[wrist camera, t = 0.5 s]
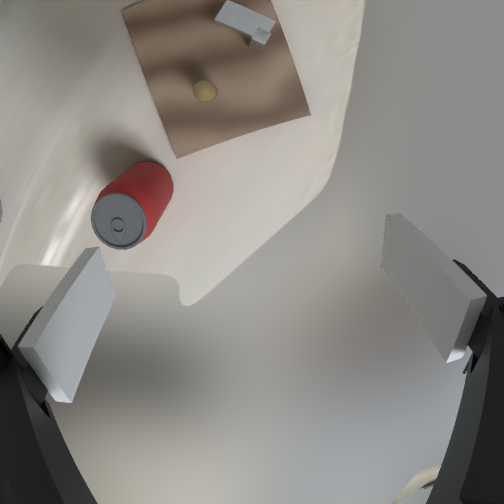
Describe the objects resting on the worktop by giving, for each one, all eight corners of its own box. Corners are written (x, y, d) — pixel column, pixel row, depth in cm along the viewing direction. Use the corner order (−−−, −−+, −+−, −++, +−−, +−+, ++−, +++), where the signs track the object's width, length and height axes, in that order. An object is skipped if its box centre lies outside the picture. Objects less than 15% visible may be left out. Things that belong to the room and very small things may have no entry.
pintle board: (125, 13, 27) (102, -2, 20) (254, -31, 26) (259, -57, 19) (179, 156, 36) (166, 170, 30) (307, 114, 35) (325, 118, 28)
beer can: (122, 207, 39) (86, 249, 28) (126, 157, 36) (85, 183, 25) (171, 214, 39) (149, 260, 29) (177, 163, 37) (154, 192, 26)
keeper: (258, 54, 31) (264, 44, 25) (216, 34, 30) (213, 21, 24) (270, 35, 30) (278, 22, 24) (228, 15, 29) (227, -1, 23)
